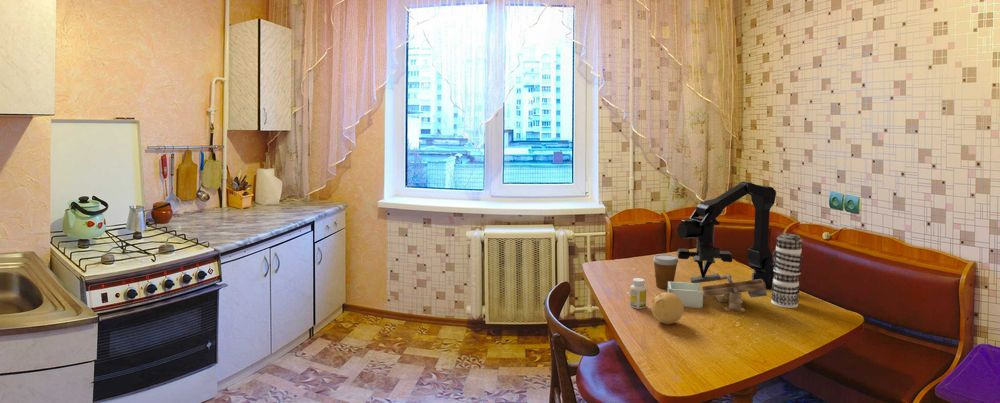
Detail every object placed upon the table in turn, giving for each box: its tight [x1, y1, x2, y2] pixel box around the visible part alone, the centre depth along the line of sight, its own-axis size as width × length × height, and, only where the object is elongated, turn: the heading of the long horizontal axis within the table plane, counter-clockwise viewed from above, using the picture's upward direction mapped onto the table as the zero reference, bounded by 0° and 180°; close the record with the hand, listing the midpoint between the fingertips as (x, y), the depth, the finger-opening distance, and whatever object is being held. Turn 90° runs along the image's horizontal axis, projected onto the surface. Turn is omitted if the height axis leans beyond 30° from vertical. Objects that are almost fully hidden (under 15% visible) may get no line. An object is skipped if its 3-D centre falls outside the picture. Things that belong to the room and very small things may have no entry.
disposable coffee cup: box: [652, 253, 679, 290], centre depth 197 cm, size 10×10×12 cm
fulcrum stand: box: [716, 282, 745, 312], centre depth 177 cm, size 8×13×6 cm, turn 165°
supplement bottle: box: [629, 277, 647, 310], centre depth 176 cm, size 5×5×10 cm
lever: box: [689, 273, 768, 298], centre depth 180 cm, size 23×19×5 cm
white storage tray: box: [666, 281, 704, 309], centre depth 180 cm, size 11×9×6 cm
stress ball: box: [650, 291, 685, 325], centre depth 161 cm, size 10×10×10 cm
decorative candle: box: [770, 232, 804, 309], centre depth 176 cm, size 9×9×25 cm
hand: (702, 277), depth 189 cm, fingers closed
